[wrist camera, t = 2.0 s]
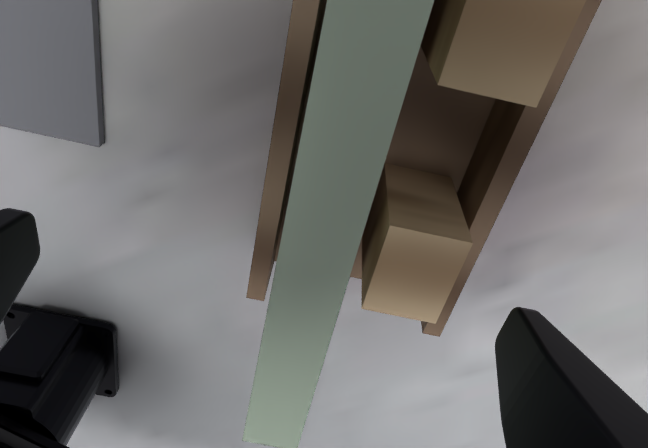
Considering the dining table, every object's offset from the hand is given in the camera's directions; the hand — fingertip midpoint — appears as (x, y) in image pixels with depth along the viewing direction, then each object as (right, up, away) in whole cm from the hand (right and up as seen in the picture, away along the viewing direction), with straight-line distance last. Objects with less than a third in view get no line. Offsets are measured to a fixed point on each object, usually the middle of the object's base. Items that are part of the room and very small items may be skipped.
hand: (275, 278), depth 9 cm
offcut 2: (+6, +9, +8) cm, 14 cm away
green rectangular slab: (+1, +6, +10) cm, 12 cm away
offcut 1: (+5, +2, +13) cm, 14 cm away
